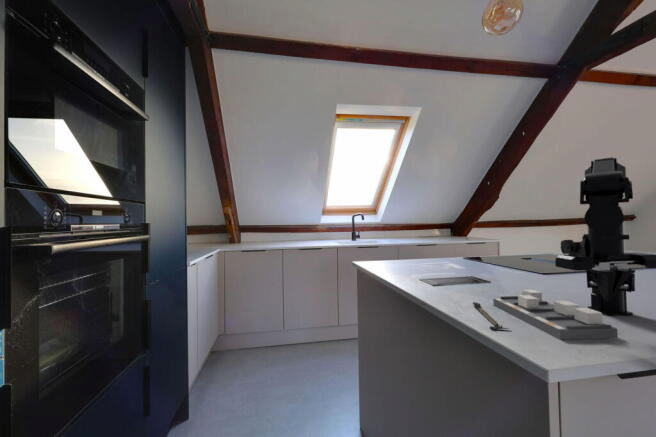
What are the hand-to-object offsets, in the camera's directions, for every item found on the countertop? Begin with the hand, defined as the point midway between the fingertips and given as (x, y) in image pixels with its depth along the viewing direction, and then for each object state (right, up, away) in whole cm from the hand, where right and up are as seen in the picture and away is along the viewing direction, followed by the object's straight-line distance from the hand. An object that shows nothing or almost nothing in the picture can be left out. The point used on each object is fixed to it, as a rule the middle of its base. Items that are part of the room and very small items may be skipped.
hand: (607, 300), depth 65 cm
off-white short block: (-4, -5, 0) cm, 6 cm away
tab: (-9, -5, +12) cm, 16 cm away
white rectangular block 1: (-4, -5, +18) cm, 19 cm away
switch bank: (-7, -7, +9) cm, 14 cm away
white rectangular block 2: (-4, -5, +6) cm, 9 cm away
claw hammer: (-19, -8, +12) cm, 24 cm away
